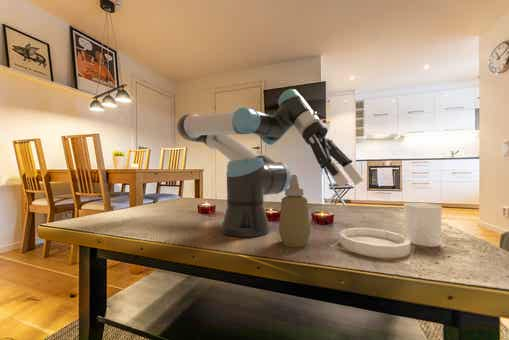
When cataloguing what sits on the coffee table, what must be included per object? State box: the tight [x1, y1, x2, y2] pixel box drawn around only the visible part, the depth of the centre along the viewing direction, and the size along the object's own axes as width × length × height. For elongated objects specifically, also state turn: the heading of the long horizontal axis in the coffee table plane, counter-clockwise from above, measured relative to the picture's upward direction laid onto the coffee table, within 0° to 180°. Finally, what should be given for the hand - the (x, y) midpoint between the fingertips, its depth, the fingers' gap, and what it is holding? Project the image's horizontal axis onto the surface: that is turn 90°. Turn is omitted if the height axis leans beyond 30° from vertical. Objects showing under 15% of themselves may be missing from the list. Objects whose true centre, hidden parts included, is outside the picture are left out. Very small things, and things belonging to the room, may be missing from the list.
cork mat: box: [329, 239, 417, 266], centre depth 54 cm, size 16×14×1 cm
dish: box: [338, 227, 412, 259], centre depth 54 cm, size 15×15×3 cm
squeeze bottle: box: [278, 174, 311, 248], centre depth 57 cm, size 8×8×18 cm
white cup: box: [403, 202, 443, 247], centre depth 57 cm, size 8×8×10 cm
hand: (352, 183), depth 62 cm, fingers open, 13 cm apart
